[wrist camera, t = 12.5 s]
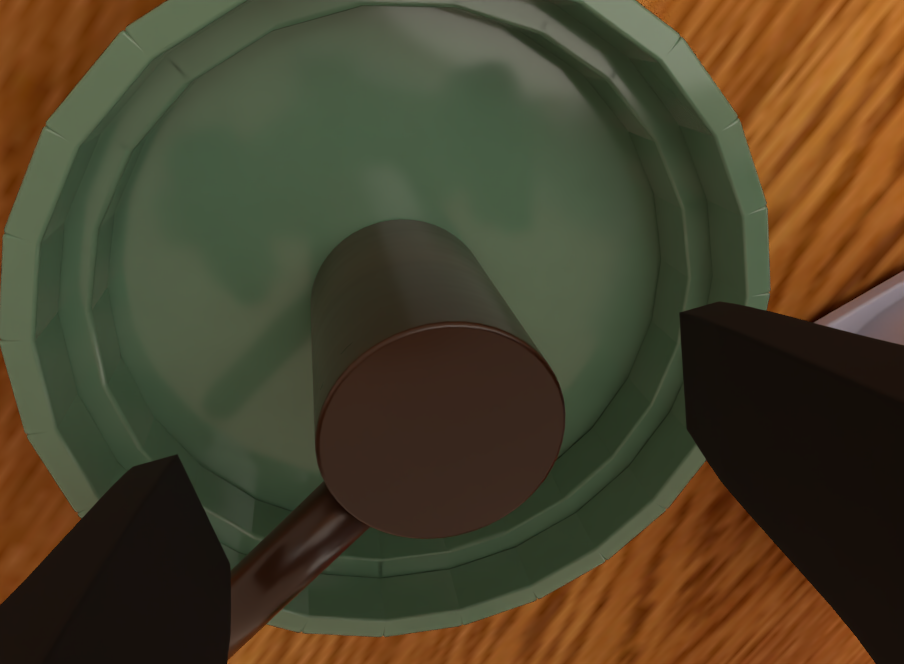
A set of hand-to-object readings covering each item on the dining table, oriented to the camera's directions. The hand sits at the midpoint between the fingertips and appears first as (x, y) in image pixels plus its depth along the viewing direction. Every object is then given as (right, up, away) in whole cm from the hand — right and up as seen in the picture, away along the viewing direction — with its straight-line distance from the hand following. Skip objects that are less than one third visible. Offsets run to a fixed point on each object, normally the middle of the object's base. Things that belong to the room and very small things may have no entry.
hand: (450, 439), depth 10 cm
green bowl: (-1, +2, +5) cm, 6 cm away
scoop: (-3, 0, +5) cm, 6 cm away
